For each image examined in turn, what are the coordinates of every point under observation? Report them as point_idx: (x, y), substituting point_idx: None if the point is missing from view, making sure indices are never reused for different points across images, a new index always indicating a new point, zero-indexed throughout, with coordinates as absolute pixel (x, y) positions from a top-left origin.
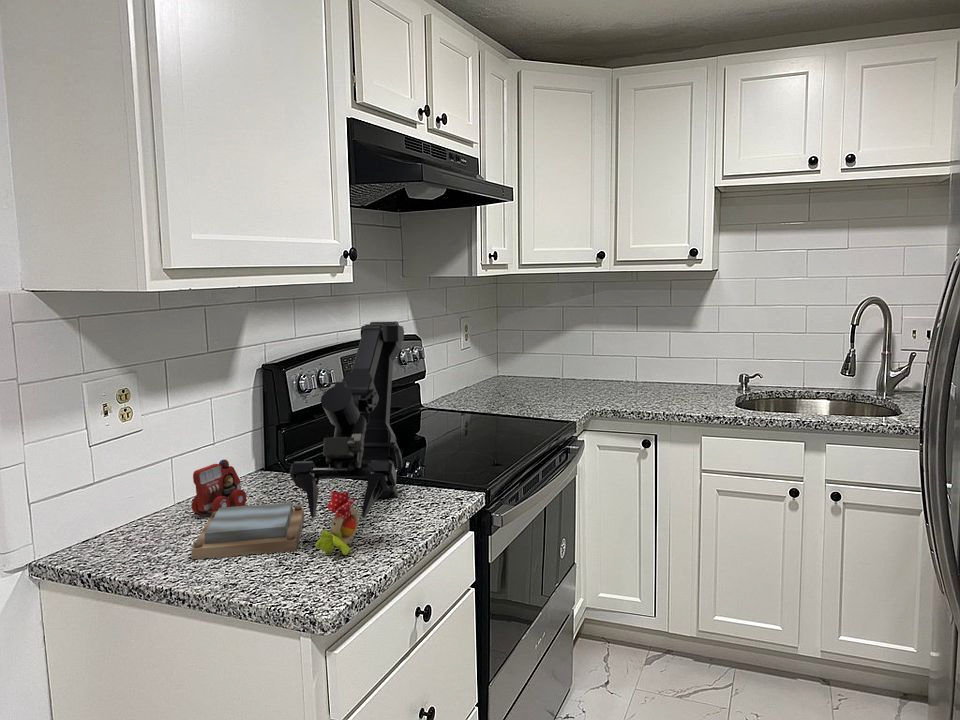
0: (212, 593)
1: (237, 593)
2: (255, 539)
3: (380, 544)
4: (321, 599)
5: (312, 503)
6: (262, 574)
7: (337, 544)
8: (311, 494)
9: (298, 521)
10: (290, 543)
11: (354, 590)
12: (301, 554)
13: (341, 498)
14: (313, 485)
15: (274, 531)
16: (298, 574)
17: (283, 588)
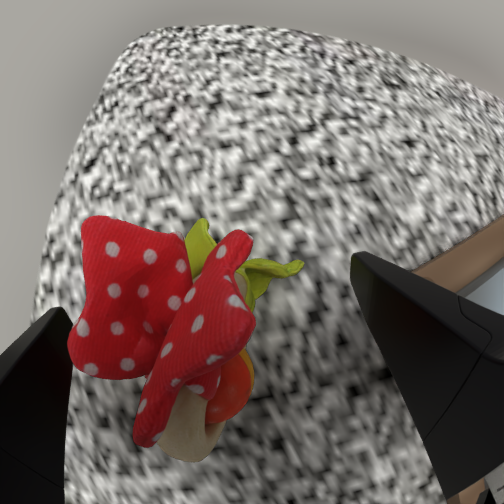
0: (396, 57)
1: (352, 54)
2: (498, 260)
3: (112, 391)
4: (164, 55)
5: (397, 284)
6: (369, 125)
7: (191, 230)
8: (449, 313)
9: None
10: None
11: (105, 97)
12: (348, 266)
13: (162, 347)
14: (494, 386)
15: (478, 283)
16: (276, 132)
17: (270, 71)
